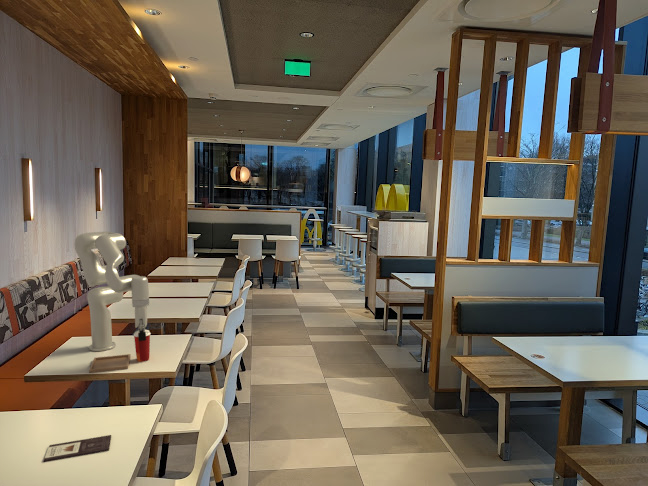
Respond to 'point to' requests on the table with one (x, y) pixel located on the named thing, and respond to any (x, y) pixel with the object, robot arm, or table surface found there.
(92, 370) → the tray
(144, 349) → the paper cup
